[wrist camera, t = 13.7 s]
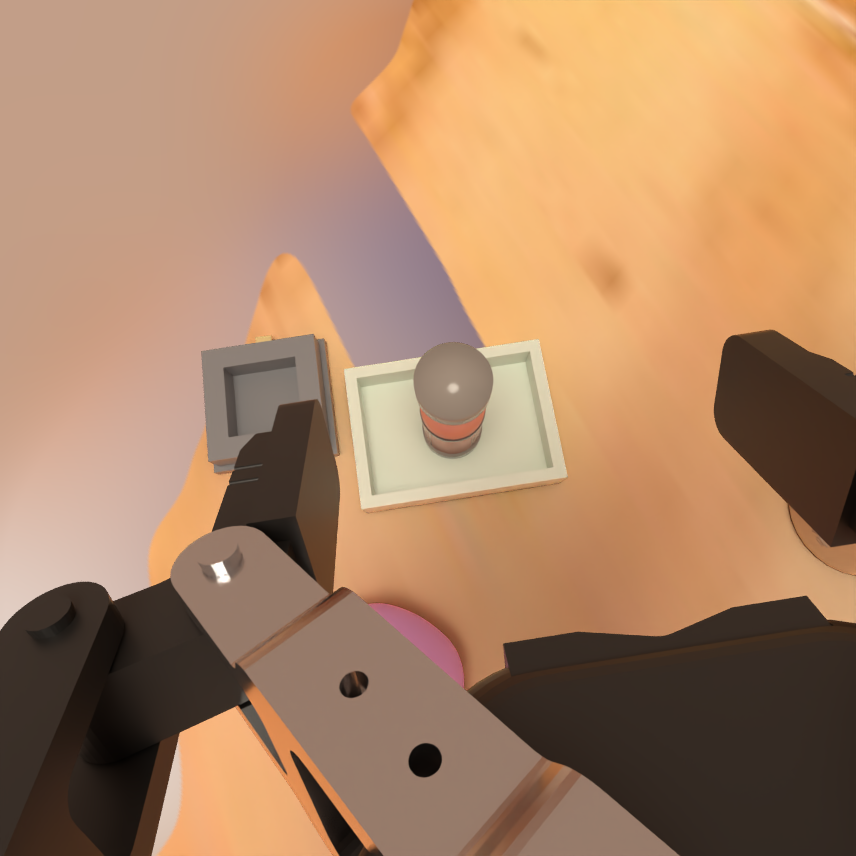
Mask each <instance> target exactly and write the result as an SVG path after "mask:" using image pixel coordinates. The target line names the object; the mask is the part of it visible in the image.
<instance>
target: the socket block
mask: <svg viewBox="0 0 856 856" xmlns="http://www.w3.org/2000/svg"><path fill="white" fill-rule="evenodd" d="M255 339H256V343H252V344H245V345H239V346H232V347H226V348H219V349H213V350H207V351H202V352H201V354H202V369H203V384H204V400H205V416H206V431H207V447H208V462H210V463H213V464H214V473H216V474H224V473H231V472H233V471H234V466H235V463H236V460H237V457H238V454H239V452H240V450H241V449H242V448H243V447H244V445H245V444H246V443H247V442H248V441H249V440H250V439H251V438H252V437H253V436H254V435H255V434H256V433H263V432H269V431H272V427H273V424H274V420H275V416H276V413H277V409H278V406H279V405H281V404H288V403H294V402H301V401H307V400H314V399H318V401H319V403H320V405H321V408H322V411H323V415H324V419H325V423H326V427H327V430H328V434H329V438H330V442H331V446H332V450H333V454H334V456H339V448H338V439H337V431H336V422H335V414H334V406H333V397H332V389H331V380H330V372H329V363H328V355H327V347H326V341H325V340H324V339H318V340H317V339H316V338H315V336H314V334H310V335H304V336H297V337H291V338H284V339H278V340H272V336H271V335H268V336H262V337H255Z"/></svg>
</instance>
